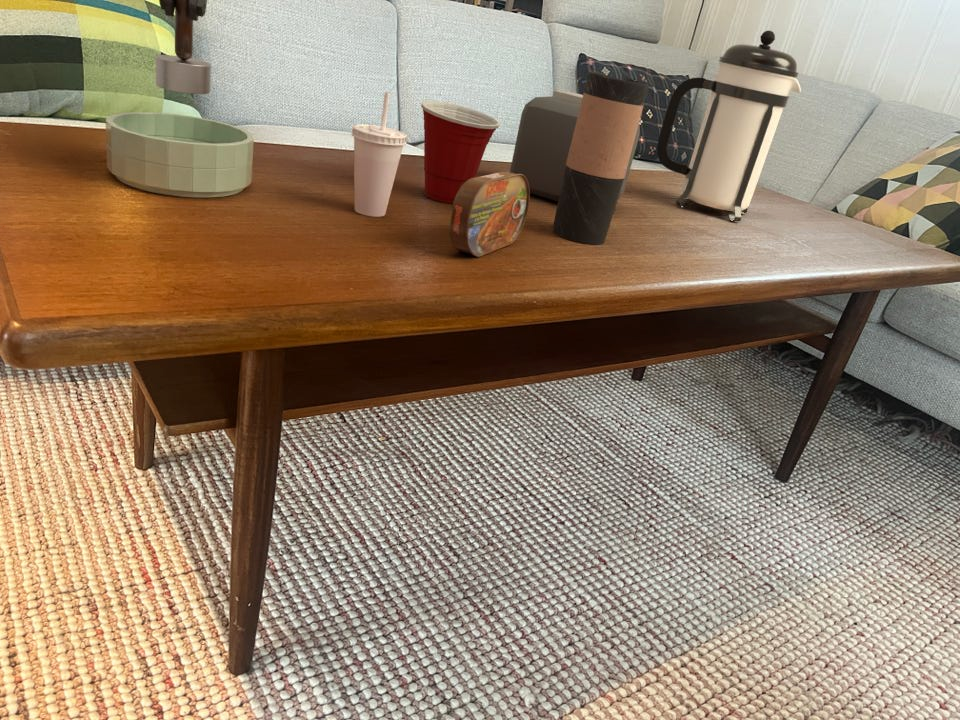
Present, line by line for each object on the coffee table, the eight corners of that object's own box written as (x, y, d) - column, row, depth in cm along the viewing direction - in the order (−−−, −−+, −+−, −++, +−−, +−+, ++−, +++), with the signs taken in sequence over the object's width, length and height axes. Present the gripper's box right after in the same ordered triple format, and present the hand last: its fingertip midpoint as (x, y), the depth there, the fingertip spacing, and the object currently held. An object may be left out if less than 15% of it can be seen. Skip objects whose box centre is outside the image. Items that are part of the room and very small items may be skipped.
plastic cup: (452, 213, 95) (468, 119, 90) (391, 190, 100) (404, 99, 95) (499, 206, 103) (517, 119, 98) (441, 185, 108) (455, 101, 103)
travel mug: (581, 247, 92) (625, 81, 84) (538, 227, 97) (575, 68, 88) (618, 243, 97) (662, 86, 89) (575, 225, 102) (613, 74, 93)
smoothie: (358, 220, 84) (373, 94, 78) (334, 203, 88) (346, 83, 82) (406, 220, 88) (423, 99, 82) (380, 204, 92) (395, 88, 86)
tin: (463, 263, 77) (478, 184, 74) (438, 254, 78) (451, 176, 75) (523, 240, 90) (539, 172, 86) (501, 233, 91) (515, 165, 87)
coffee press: (720, 202, 140) (776, 35, 128) (769, 227, 127) (837, 43, 114) (641, 191, 135) (691, 15, 122) (684, 216, 121) (745, 21, 109)
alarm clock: (619, 208, 118) (646, 108, 111) (597, 218, 108) (625, 110, 102) (529, 181, 123) (550, 85, 117) (500, 188, 114) (521, 84, 107)
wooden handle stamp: (147, 86, 78) (146, -39, 73) (167, 81, 83) (167, -37, 78) (200, 96, 79) (203, -28, 73) (216, 90, 84) (220, -26, 78)
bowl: (82, 181, 78) (79, 124, 75) (141, 155, 91) (140, 106, 89) (228, 208, 79) (230, 152, 76) (264, 178, 93) (267, 130, 90)
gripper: (128, -161, 76) (100, -31, 71) (265, -128, 79) (248, -1, 74) (140, -98, 83) (116, 25, 77) (265, -70, 86) (250, 50, 81)
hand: (180, 12), depth 76 cm, fingers closed on wooden handle stamp
